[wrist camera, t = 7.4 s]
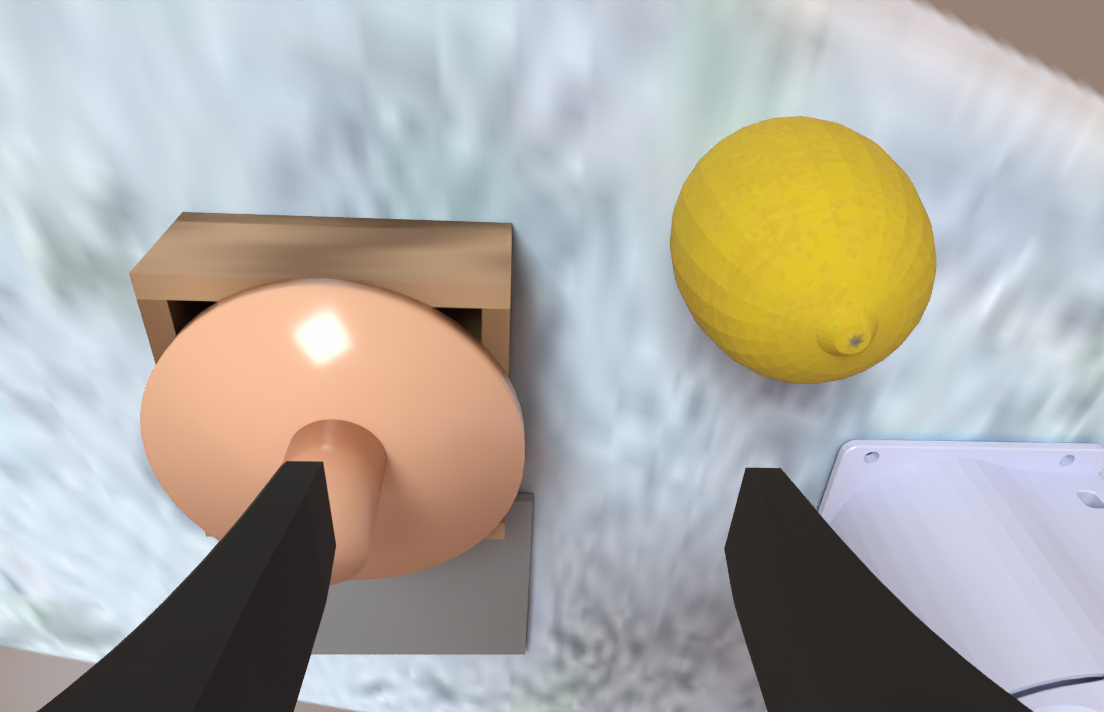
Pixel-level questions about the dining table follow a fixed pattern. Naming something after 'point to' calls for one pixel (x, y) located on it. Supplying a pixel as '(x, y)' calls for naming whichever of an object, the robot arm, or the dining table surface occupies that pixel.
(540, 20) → the dining table surface
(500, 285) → the wooden open tray
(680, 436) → the dining table surface
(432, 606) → the mat
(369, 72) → the dining table surface
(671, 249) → the lemon
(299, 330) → the lid
